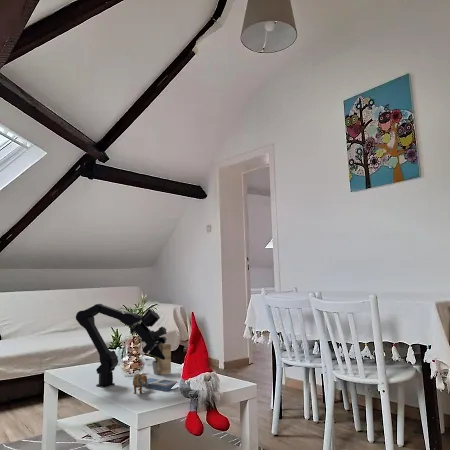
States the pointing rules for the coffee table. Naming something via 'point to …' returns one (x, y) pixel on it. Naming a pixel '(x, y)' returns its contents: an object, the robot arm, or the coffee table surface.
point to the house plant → (155, 364)
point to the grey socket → (163, 381)
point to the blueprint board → (157, 387)
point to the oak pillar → (165, 364)
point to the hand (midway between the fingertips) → (167, 357)
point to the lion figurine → (139, 382)
